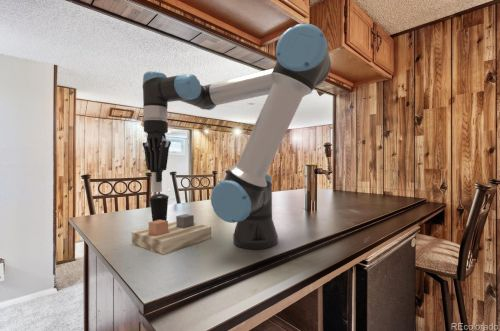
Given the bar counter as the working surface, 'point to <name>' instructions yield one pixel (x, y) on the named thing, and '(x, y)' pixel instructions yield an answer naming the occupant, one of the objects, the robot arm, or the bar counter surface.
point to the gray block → (185, 221)
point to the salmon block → (158, 227)
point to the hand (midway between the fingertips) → (156, 191)
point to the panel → (171, 238)
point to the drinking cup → (159, 206)
